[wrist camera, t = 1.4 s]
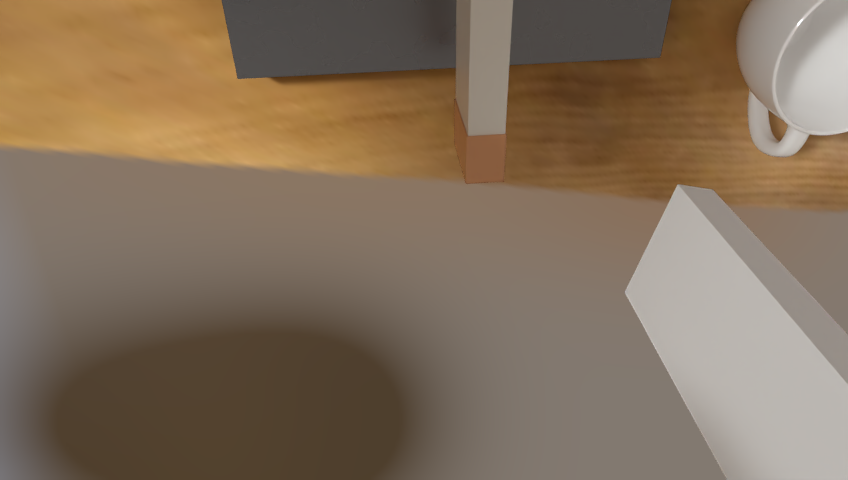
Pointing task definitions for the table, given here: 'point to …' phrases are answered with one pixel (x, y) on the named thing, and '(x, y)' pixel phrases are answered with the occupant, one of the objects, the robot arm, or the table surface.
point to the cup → (794, 70)
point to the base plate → (429, 34)
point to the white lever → (482, 87)
